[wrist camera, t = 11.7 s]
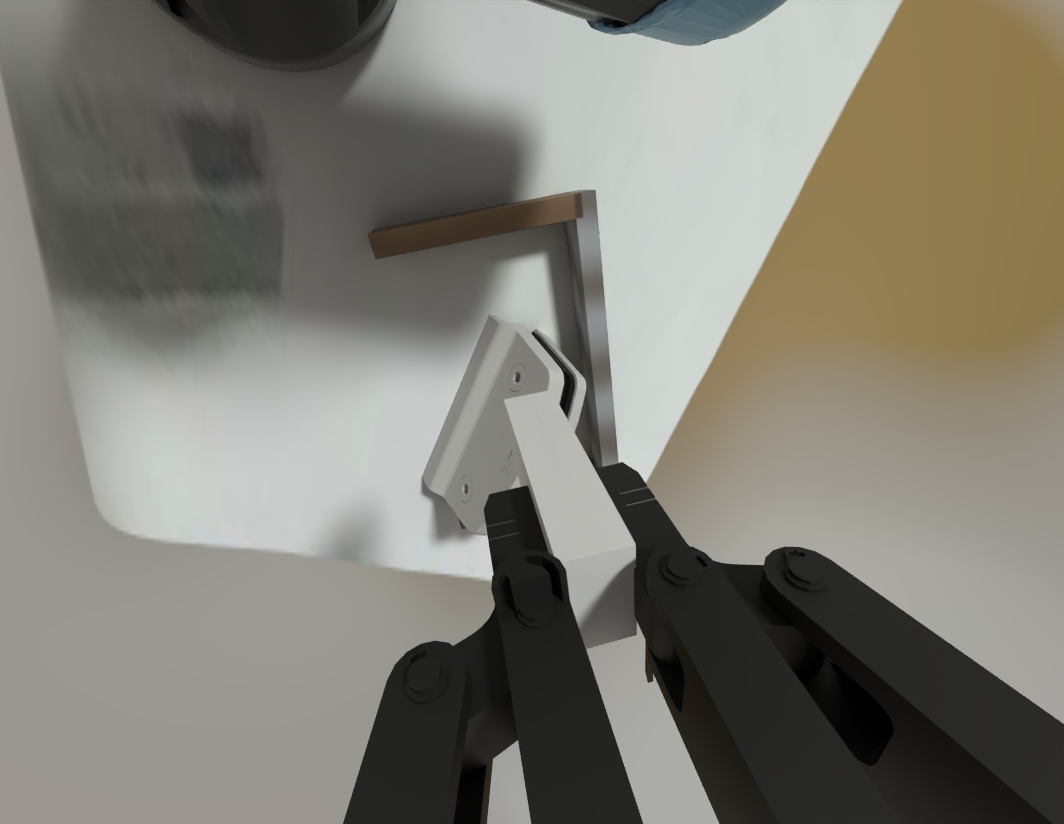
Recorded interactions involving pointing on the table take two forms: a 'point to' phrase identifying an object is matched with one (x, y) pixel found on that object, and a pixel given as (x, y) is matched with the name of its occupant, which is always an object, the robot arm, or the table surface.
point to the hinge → (496, 416)
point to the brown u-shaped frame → (584, 271)
